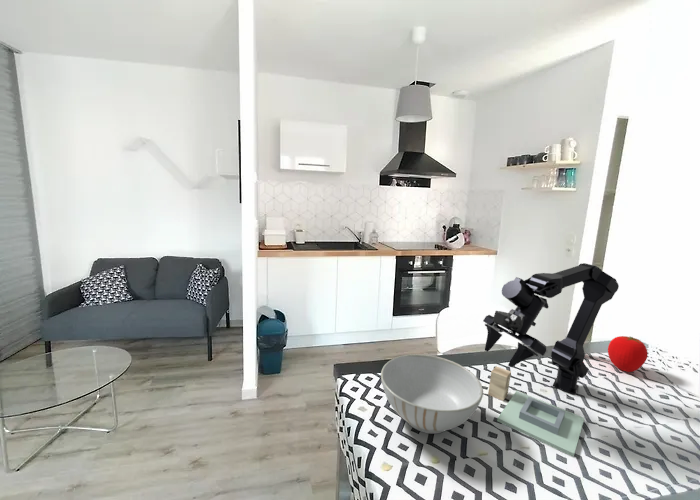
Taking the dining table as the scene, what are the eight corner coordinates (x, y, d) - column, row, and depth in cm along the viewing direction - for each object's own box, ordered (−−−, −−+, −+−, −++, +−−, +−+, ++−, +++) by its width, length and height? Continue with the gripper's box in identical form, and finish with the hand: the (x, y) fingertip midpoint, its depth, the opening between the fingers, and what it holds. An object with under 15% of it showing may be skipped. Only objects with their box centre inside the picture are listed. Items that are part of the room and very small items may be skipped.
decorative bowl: (401, 465, 77) (405, 418, 75) (365, 394, 102) (368, 358, 100) (500, 446, 84) (506, 403, 82) (443, 384, 110) (447, 350, 107)
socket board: (516, 393, 107) (517, 384, 106) (583, 420, 95) (585, 411, 95) (497, 421, 93) (498, 411, 93) (573, 457, 82) (575, 446, 81)
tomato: (610, 372, 122) (617, 339, 120) (601, 359, 132) (607, 328, 129) (648, 380, 118) (657, 346, 115) (636, 366, 128) (644, 334, 125)
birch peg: (492, 388, 109) (496, 366, 107) (507, 394, 106) (511, 371, 104) (488, 394, 105) (491, 371, 104) (503, 401, 102) (506, 377, 101)
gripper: (486, 290, 104) (459, 333, 103) (537, 313, 87) (505, 364, 86) (507, 306, 108) (481, 347, 108) (560, 330, 91) (529, 379, 91)
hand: (497, 358), depth 98 cm, fingers open, 9 cm apart
